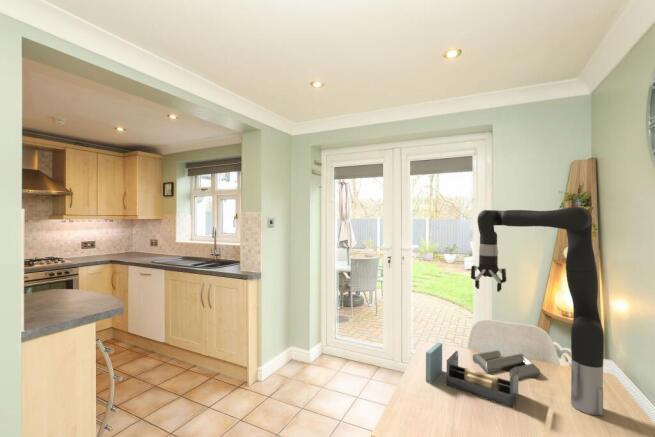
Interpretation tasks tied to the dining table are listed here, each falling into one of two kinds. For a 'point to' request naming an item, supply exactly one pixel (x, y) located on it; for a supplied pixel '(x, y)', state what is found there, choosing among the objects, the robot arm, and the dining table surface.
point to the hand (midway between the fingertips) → (488, 290)
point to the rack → (503, 395)
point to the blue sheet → (433, 362)
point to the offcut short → (479, 381)
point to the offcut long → (483, 375)
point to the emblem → (506, 364)
